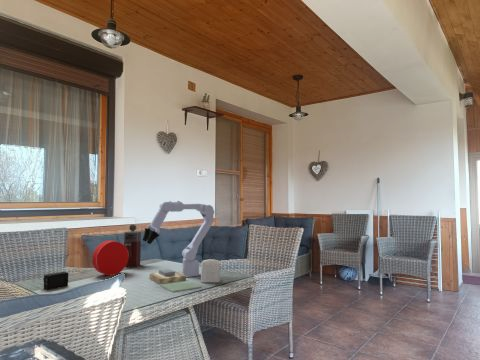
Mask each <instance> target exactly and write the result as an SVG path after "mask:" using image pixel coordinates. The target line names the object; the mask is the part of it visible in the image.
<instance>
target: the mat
mask: <svg viewBox="0 0 480 360" xmlns="http://www.w3.org/2000/svg"><path fill="white" fill-rule="evenodd" d="M159 286H160V287H162V288H164V290H165V289H166V290H168V291H169V292H171V293H176V292H181V291H188V290H190V291H191V290H195V289H201V288H202V286H201V285H198V284H196V283H194V282H192V281H190V280H187V279H186V281H179V282H172V283H165V284H160V285H159Z"/></svg>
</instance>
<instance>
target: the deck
mask: <svg viewBox="0 0 480 360" xmlns="http://www.w3.org/2000/svg"><path fill="white" fill-rule="evenodd" d="M174 271H175V275H173V276H163V275H161V274H159V272H153V273H152V272H151V273H149V278H148V279H149V280H150V279H151V280H150V281H152V282H154V283H156V284H157V285H159V286H160V284H165V283H172V282H179V281H187V277H186V276H185V275H183V274H182V273H181V272H178V271H176V270H174Z"/></svg>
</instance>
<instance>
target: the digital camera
mask: <svg viewBox="0 0 480 360" xmlns="http://www.w3.org/2000/svg"><path fill="white" fill-rule="evenodd" d="M42 279H43V290H47V291H50V290H56V289H59V288H64V287H68V286H69V272H67V271H60V272H54V273H46V274H44V275H43V278H42Z"/></svg>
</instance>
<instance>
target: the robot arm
mask: <svg viewBox="0 0 480 360" xmlns="http://www.w3.org/2000/svg"><path fill="white" fill-rule="evenodd" d="M184 210H195V211H197V212H199V213H200V215H201V216H202V219H203V222H202V224H201V225H200V227H199V229H198V230H197V232H196V234H195V235H194V236H193V238H192V239H191V242H190V243H189V244H188V245H187V246H186V247H185V248H184V249H183V250H182V252H181V257H182V258H183V259H182V273H181V274H183V275H185V276H186V278H190V277H191V278H192V277H198V276H200V263H199V260H197V259H196V257H197V253H198V250H199V249H198V248H199V246H200V244H201V243H202V241H203V240H204V238H205V236H206V235H207V233H208V232H209V230H210V228H211V227H212V225H213V223H214V216H215V215H214V214H215V210H214V206H212V205H211V204H203V203H183V202H182V201H180V200H177V201H172V200H169V201H162V202H161V203H160V204H159V209H158V210H157V212H156V213H155V215H154V217H153V219H152V221H151V222H150V224H147V227H144V233H143V237H142V241H144V242H146V243H147V244H149V245H151V244H152V243H153V242H154V241H155V240H156V239H157V238H158V237H159V236H160V231H161V229H160V228H161V227H162V225H163V223H164V222H165V219H166V217H167V215H168V214H169V212H171V213H172V212H173V213H174V212H178V213H179V212H183V211H184Z"/></svg>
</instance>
